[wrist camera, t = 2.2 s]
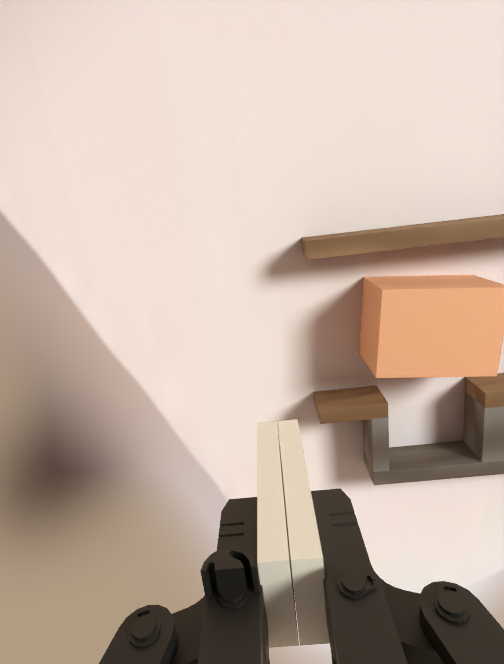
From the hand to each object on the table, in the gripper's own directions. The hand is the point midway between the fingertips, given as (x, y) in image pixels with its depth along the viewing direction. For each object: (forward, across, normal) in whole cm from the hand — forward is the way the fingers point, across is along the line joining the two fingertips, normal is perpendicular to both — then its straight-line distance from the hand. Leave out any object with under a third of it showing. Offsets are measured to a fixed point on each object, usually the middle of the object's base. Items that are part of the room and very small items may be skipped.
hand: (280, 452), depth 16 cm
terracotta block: (+17, +11, 0) cm, 20 cm away
